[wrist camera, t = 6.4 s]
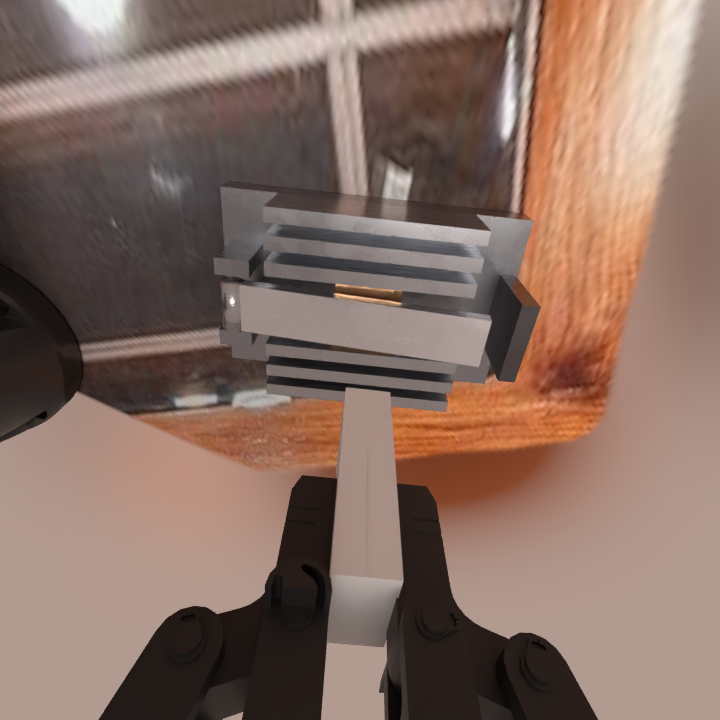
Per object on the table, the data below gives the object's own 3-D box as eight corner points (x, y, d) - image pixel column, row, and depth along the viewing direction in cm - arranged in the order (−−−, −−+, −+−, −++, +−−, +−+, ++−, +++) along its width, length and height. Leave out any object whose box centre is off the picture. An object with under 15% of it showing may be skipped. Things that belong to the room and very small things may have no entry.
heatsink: (239, 344, 33) (208, 397, 27) (230, 181, 27) (187, 202, 21) (478, 369, 33) (500, 426, 27) (523, 213, 27) (564, 243, 21)
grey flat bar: (228, 320, 27) (219, 330, 26) (225, 275, 25) (215, 283, 24) (476, 357, 26) (479, 369, 24) (489, 313, 24) (492, 323, 23)
